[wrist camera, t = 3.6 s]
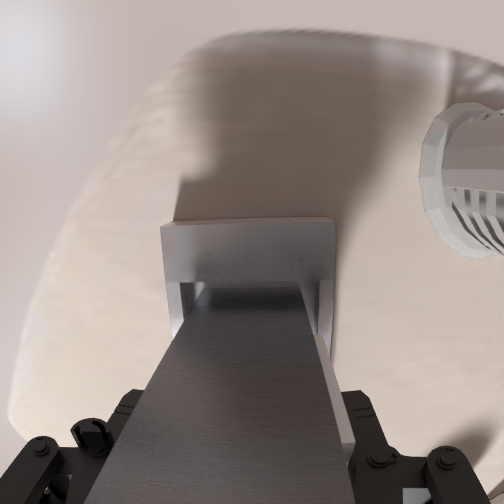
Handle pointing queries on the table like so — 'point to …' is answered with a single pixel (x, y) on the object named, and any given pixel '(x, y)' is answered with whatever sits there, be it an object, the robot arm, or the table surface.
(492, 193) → the french press
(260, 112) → the table surface
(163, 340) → the table surface
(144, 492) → the graphite post
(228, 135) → the table surface
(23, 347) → the table surface
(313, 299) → the rail
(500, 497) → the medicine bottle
